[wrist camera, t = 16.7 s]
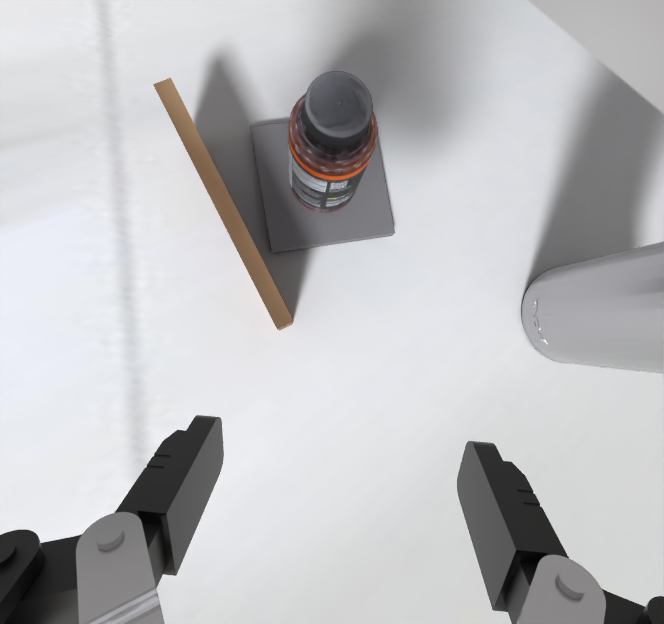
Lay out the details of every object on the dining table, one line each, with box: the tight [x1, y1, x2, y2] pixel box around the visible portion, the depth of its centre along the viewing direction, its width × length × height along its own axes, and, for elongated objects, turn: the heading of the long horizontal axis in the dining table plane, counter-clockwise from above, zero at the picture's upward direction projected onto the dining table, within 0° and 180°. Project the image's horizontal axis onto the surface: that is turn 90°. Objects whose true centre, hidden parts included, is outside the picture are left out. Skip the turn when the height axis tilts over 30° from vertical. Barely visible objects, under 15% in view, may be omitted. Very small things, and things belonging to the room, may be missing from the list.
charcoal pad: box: [250, 122, 395, 253], centre depth 33 cm, size 11×11×1 cm
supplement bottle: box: [288, 71, 378, 213], centre depth 27 cm, size 6×6×11 cm
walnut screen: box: [153, 78, 293, 330], centre depth 28 cm, size 1×18×8 cm, turn 27°
